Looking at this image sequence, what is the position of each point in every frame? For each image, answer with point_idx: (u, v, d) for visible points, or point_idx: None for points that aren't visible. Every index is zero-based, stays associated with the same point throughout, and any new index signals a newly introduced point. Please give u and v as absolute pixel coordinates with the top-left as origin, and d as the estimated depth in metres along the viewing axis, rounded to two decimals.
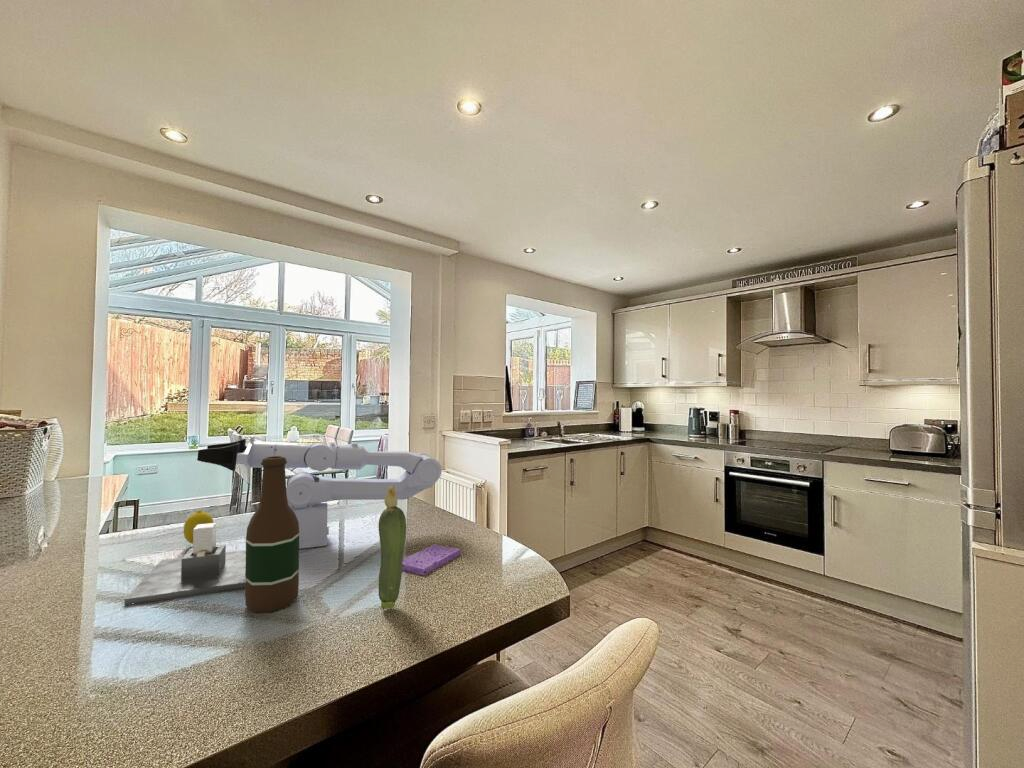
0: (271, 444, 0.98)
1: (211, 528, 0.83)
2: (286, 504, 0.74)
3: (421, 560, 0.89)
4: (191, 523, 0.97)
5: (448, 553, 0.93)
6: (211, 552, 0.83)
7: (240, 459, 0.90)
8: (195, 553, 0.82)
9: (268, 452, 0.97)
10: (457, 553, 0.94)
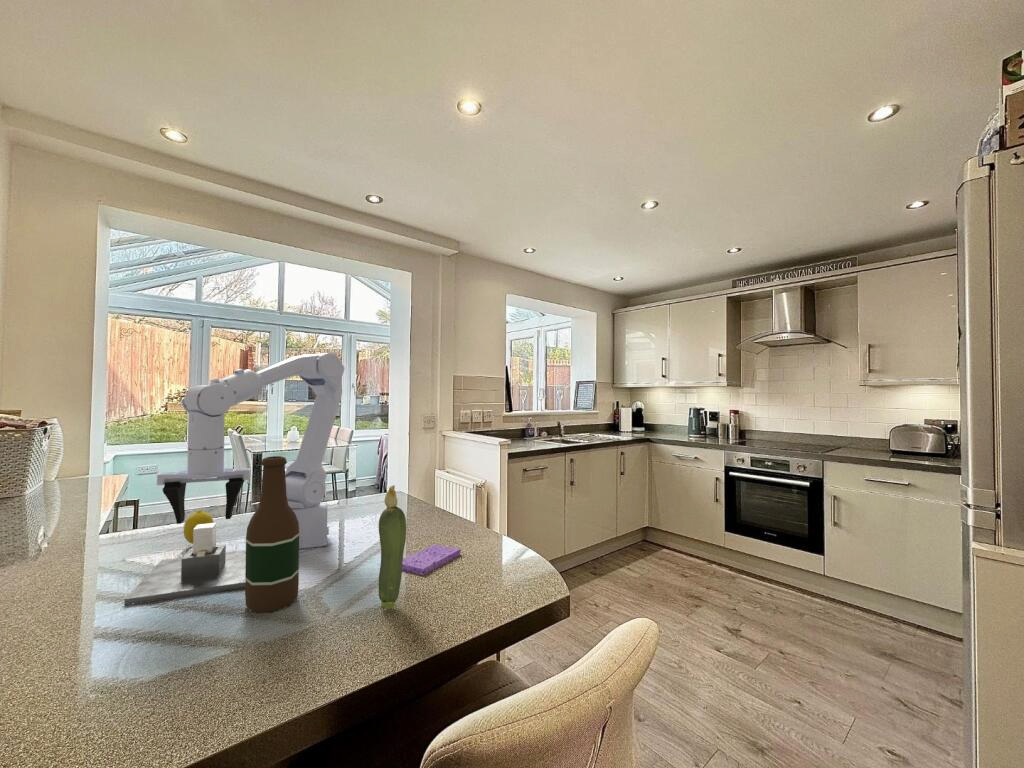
0: (211, 453, 0.82)
1: (211, 528, 0.83)
2: (286, 504, 0.74)
3: (421, 560, 0.89)
4: (191, 523, 0.97)
5: (447, 553, 0.93)
6: (211, 552, 0.83)
7: (249, 474, 0.87)
8: (195, 553, 0.82)
9: (221, 453, 0.84)
10: (457, 553, 0.94)
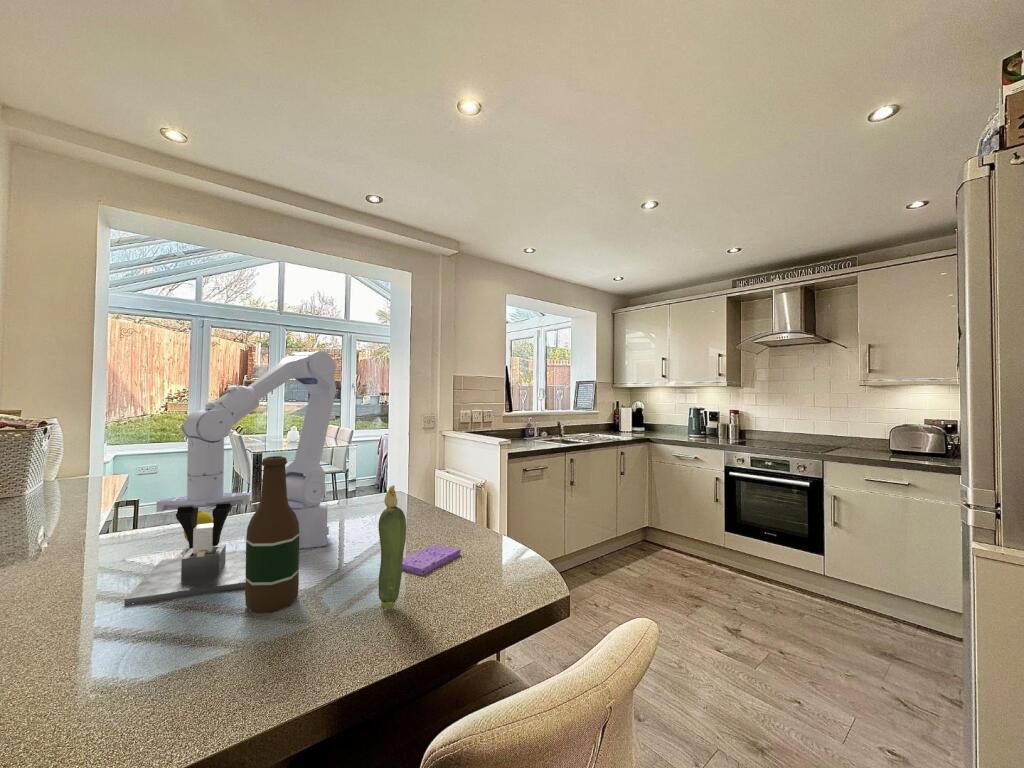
0: (211, 479, 0.82)
1: (211, 528, 0.83)
2: (286, 504, 0.74)
3: (420, 559, 0.89)
4: None
5: (447, 553, 0.93)
6: (211, 552, 0.83)
7: (249, 499, 0.87)
8: (195, 553, 0.82)
9: (220, 479, 0.84)
10: (457, 553, 0.94)
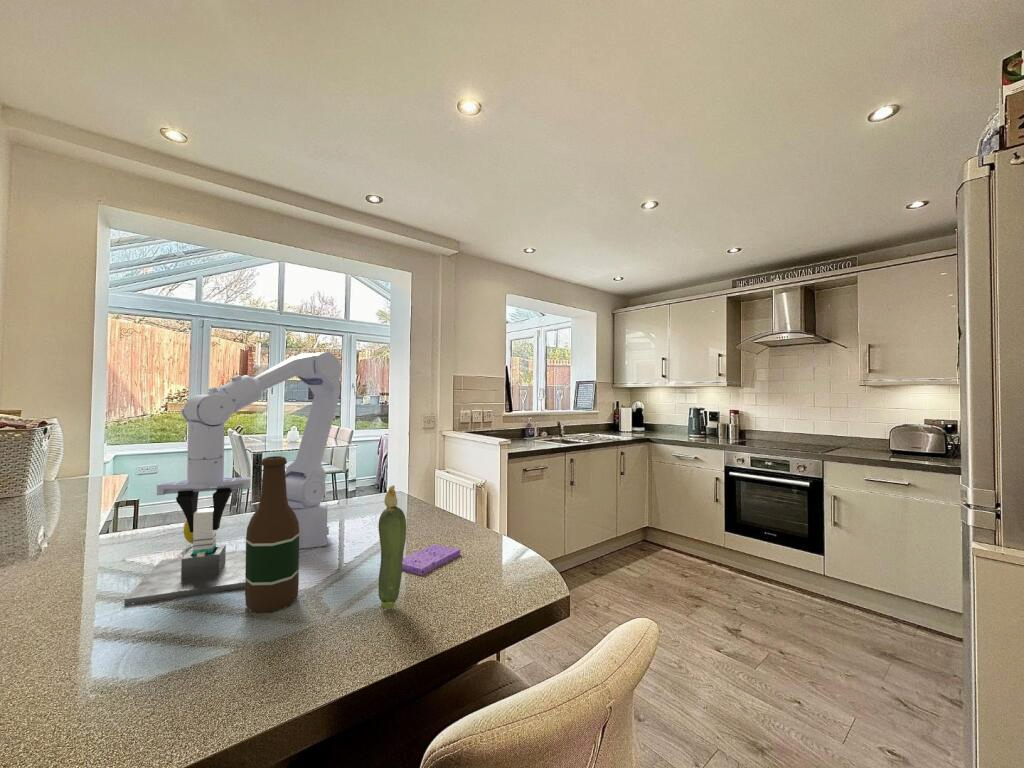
0: (211, 463, 0.82)
1: (211, 512, 0.83)
2: (286, 504, 0.74)
3: (420, 559, 0.89)
4: None
5: (447, 553, 0.93)
6: (211, 536, 0.83)
7: (249, 484, 0.87)
8: (195, 537, 0.82)
9: (221, 463, 0.84)
10: (457, 553, 0.94)
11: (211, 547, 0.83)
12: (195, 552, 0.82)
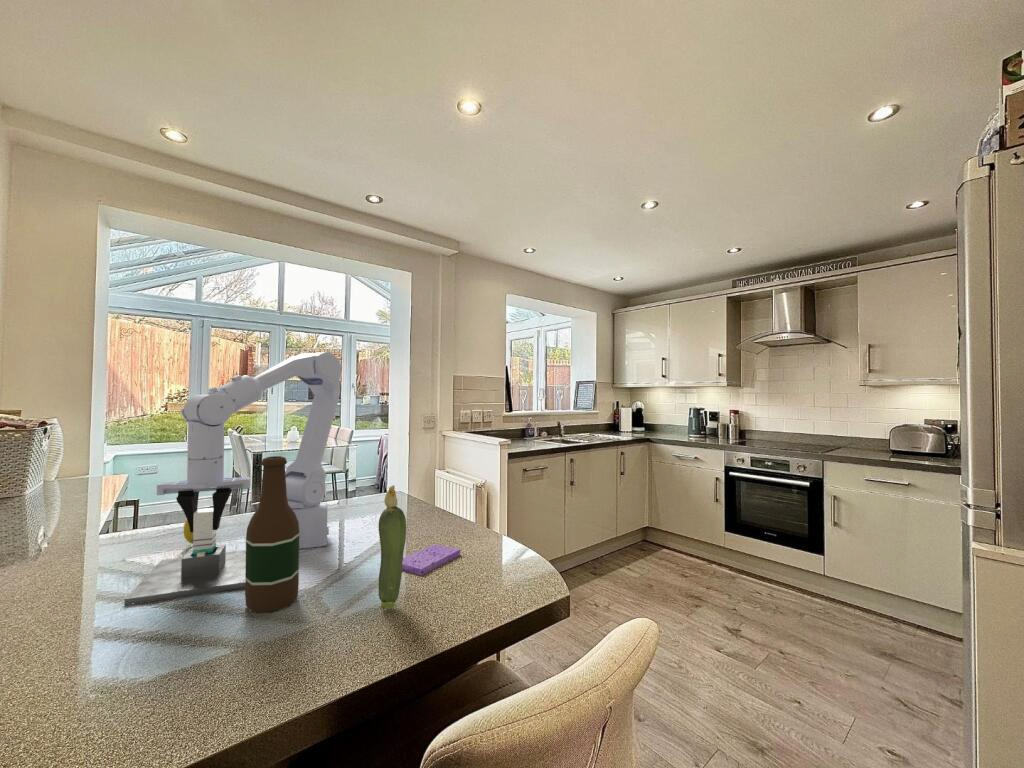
0: (211, 463, 0.82)
1: (211, 512, 0.83)
2: (286, 504, 0.74)
3: (420, 560, 0.89)
4: None
5: (447, 553, 0.93)
6: (211, 536, 0.83)
7: (249, 484, 0.87)
8: (195, 537, 0.82)
9: (221, 463, 0.84)
10: (457, 553, 0.94)
11: (211, 547, 0.83)
12: (195, 552, 0.82)
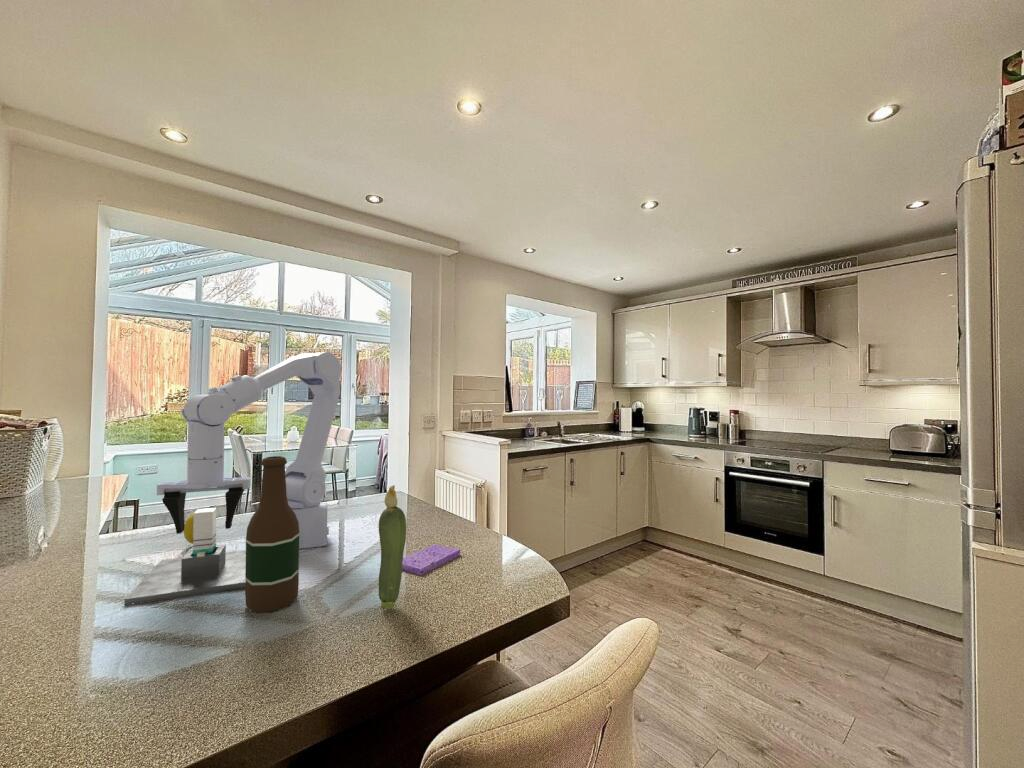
0: (211, 463, 0.82)
1: (211, 512, 0.83)
2: (286, 504, 0.74)
3: (420, 559, 0.89)
4: (191, 523, 0.97)
5: (447, 553, 0.93)
6: (211, 536, 0.83)
7: (249, 484, 0.87)
8: (195, 537, 0.82)
9: (221, 463, 0.84)
10: (456, 553, 0.94)
11: (211, 547, 0.83)
12: (195, 552, 0.82)
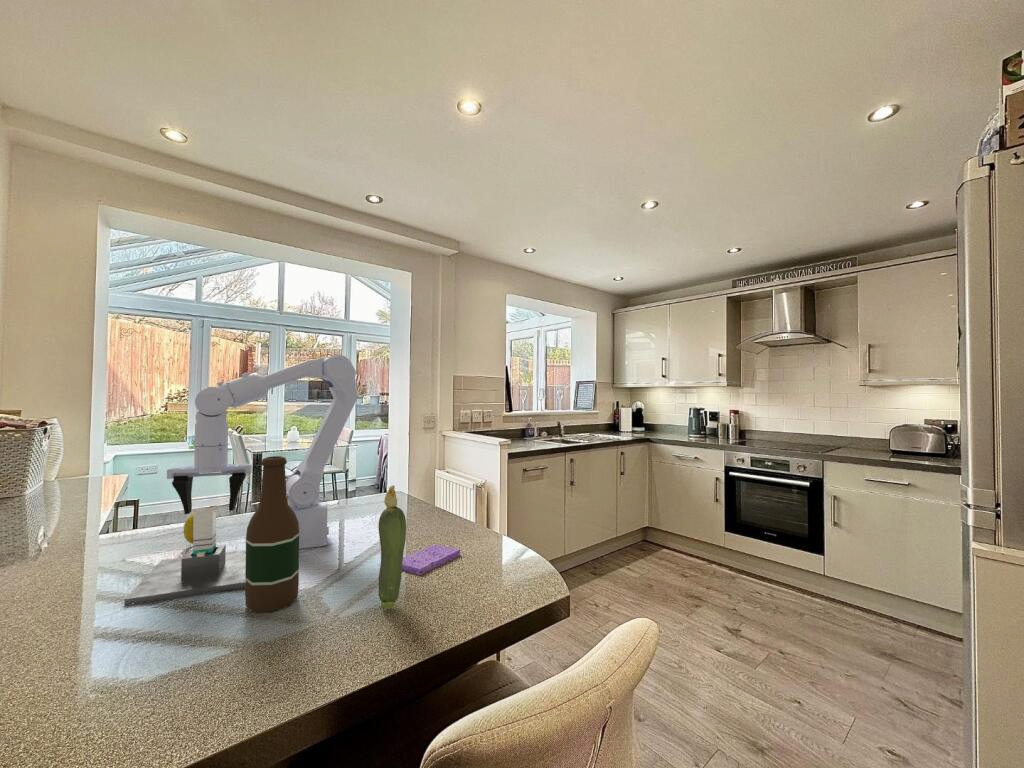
0: (216, 450, 0.90)
1: (211, 512, 0.83)
2: (286, 504, 0.74)
3: (419, 559, 0.89)
4: (191, 523, 0.97)
5: (446, 553, 0.93)
6: (211, 536, 0.83)
7: (251, 469, 0.95)
8: (195, 537, 0.82)
9: (225, 450, 0.92)
10: (456, 553, 0.94)
11: (211, 547, 0.83)
12: (195, 552, 0.82)
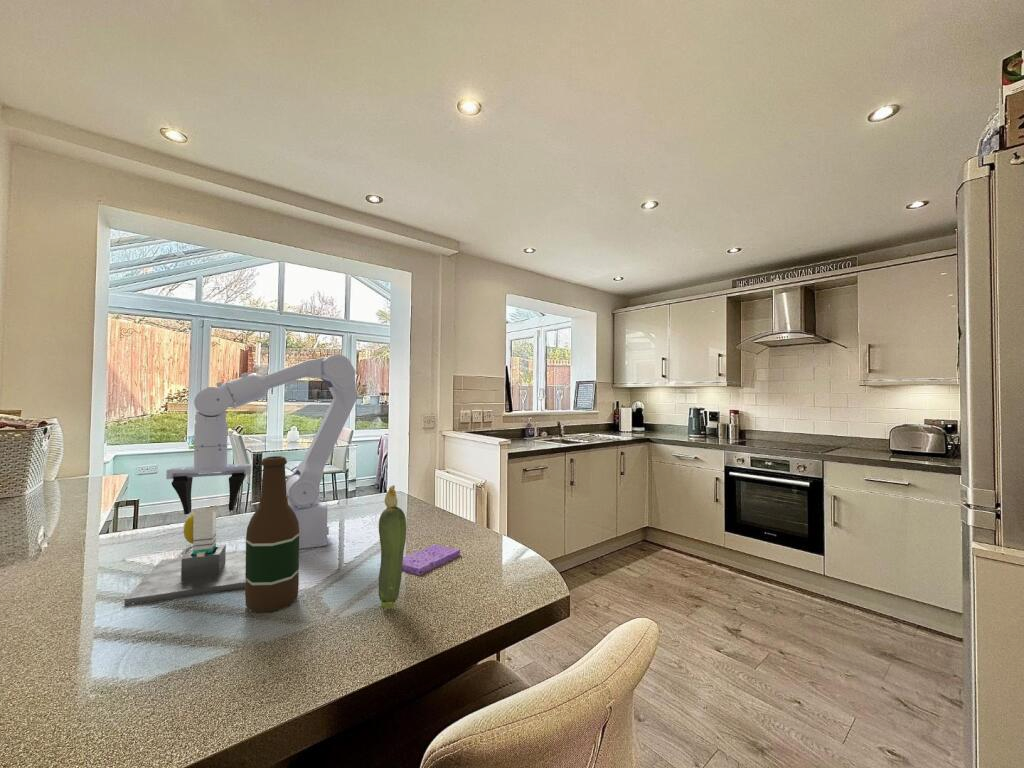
0: (216, 450, 0.90)
1: (211, 512, 0.83)
2: (286, 504, 0.74)
3: (419, 559, 0.89)
4: (191, 523, 0.97)
5: (446, 553, 0.93)
6: (211, 536, 0.83)
7: (250, 470, 0.95)
8: (195, 537, 0.82)
9: (224, 450, 0.92)
10: (456, 554, 0.94)
11: (211, 547, 0.83)
12: (195, 552, 0.82)
